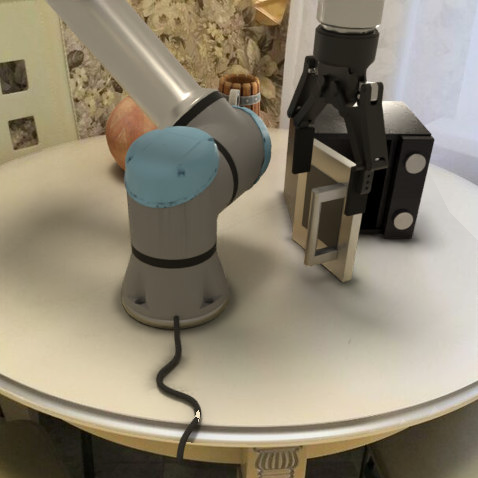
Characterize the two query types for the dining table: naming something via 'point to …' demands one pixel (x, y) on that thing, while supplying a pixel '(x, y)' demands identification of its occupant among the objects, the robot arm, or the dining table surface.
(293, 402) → the dining table surface
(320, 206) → the microwave door
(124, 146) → the jug
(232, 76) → the mug
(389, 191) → the microwave
